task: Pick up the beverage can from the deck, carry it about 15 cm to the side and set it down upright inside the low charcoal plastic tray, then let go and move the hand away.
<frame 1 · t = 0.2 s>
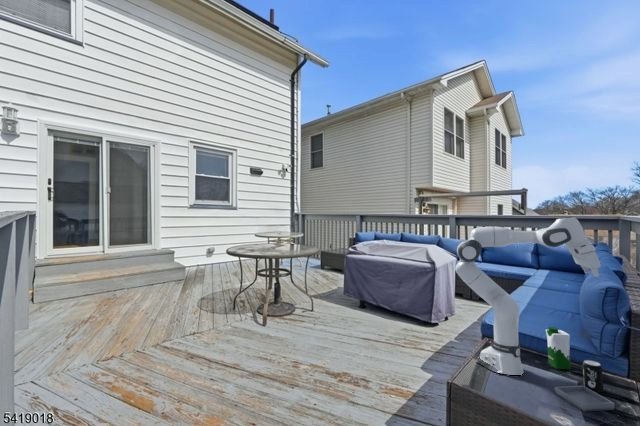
hand: (592, 274, 144), 51 cm above the table, tool tilted 20°, fingers open, 8 cm apart
tray: (583, 400, 128), on the table
beverage can: (593, 389, 137), on the table
milk carton: (559, 366, 159), on the table
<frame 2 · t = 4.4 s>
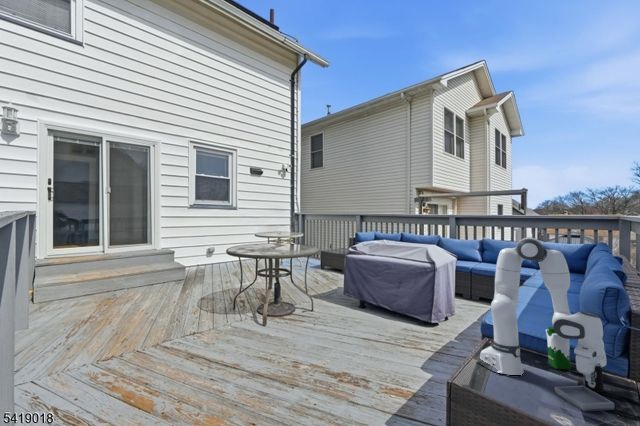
hand: (593, 379, 137), 5 cm above the table, tool pointing down, fingers closed on beverage can, 6 cm apart
beverage can: (593, 389, 137), on the table, touching gripper
everything else where it was.
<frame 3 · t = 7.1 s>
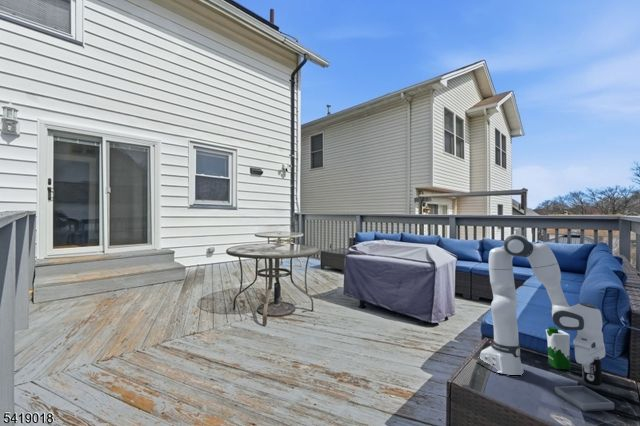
hand: (591, 370, 137), 9 cm above the table, tool pointing down, fingers closed on beverage can, 7 cm apart
beverage can: (592, 383, 137), point 3 cm above the table, touching gripper
everything else where it was.
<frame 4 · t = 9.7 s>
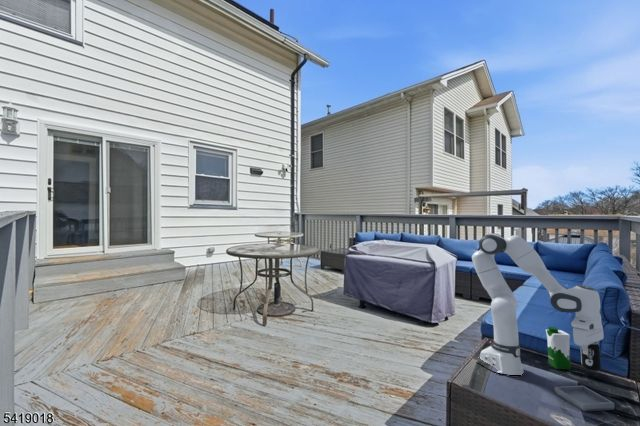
hand: (590, 352, 137), 17 cm above the table, tool pointing down, fingers closed on beverage can, 7 cm apart
beverage can: (591, 368, 136), point 10 cm above the table, touching gripper
everything else where it was.
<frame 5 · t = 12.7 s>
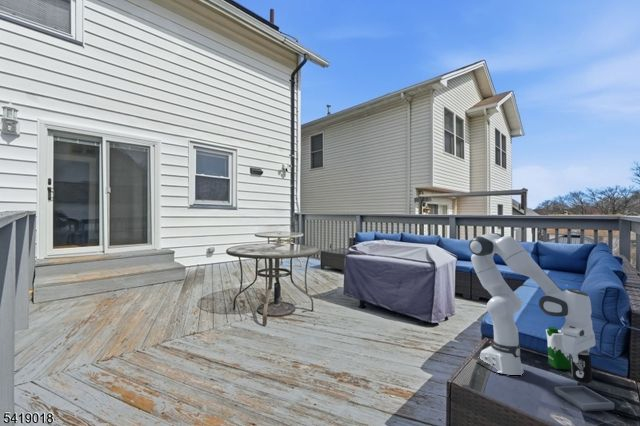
hand: (580, 360, 129), 17 cm above the table, tool pointing down, fingers closed on beverage can, 7 cm apart
beverage can: (582, 380, 128), point 9 cm above the table, touching gripper
everything else where it was.
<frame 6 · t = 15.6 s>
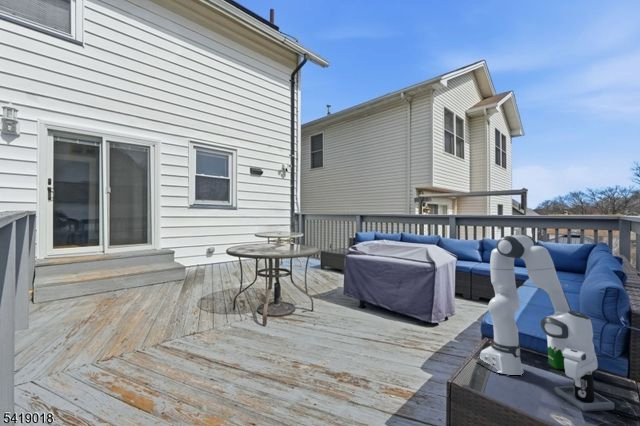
hand: (583, 383, 128), 7 cm above the table, tool pointing down, fingers closed on beverage can, 7 cm apart
beverage can: (584, 399, 128), point 1 cm above the table, touching gripper, tray
everything else where it was.
when the fingers open (7 cm above the table, at t = 16.4 s): beverage can stays where it is, resting on tray.
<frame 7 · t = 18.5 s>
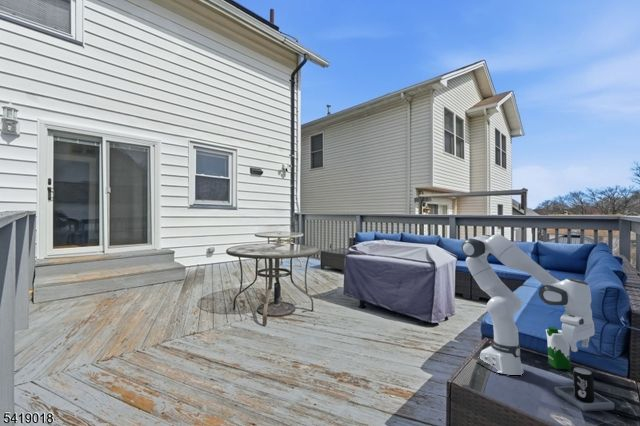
hand: (579, 349, 129), 22 cm above the table, tool pointing down, fingers open, 8 cm apart
beverage can: (584, 399, 128), point 1 cm above the table, touching tray
everything else where it was.
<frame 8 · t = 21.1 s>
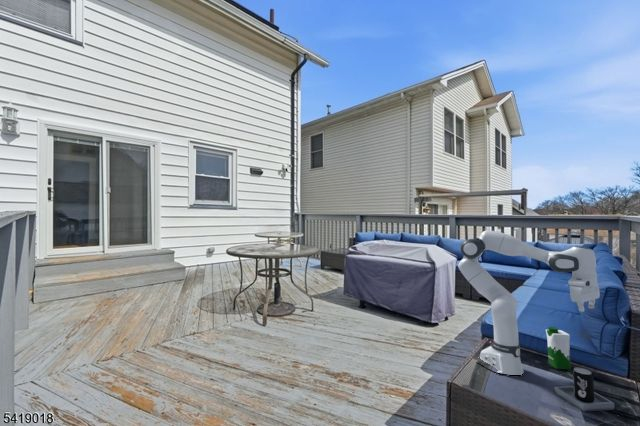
hand: (586, 309, 141), 35 cm above the table, tool pointing down, fingers open, 8 cm apart
nothing on the table moved.
at the end: beverage can inside the target area on the tray (0.3 cm from its centre), point 0.6 cm above the tray's base; beverage can tilted 0°; the gripper is holding nothing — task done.
